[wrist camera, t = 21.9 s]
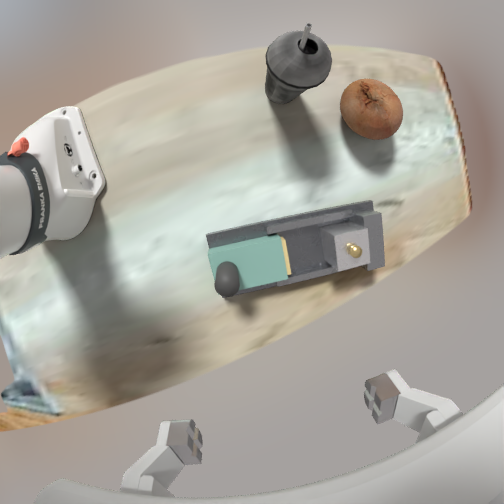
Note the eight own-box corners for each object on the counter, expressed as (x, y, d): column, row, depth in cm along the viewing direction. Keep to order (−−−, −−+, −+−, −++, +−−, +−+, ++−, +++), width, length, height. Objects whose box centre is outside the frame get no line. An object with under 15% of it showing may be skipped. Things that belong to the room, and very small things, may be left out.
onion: (330, 112, 39) (323, 84, 30) (374, 87, 36) (376, 55, 26) (364, 158, 38) (368, 139, 29) (409, 131, 35) (422, 107, 25)
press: (206, 233, 40) (202, 243, 34) (369, 200, 40) (388, 204, 34) (222, 295, 42) (221, 313, 37) (374, 258, 43) (392, 269, 37)
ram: (209, 248, 39) (204, 265, 32) (281, 232, 39) (293, 245, 32) (219, 286, 41) (217, 310, 33) (287, 270, 41) (300, 291, 33)
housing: (349, 221, 40) (371, 229, 33) (352, 251, 41) (374, 265, 34) (319, 227, 40) (337, 237, 33) (324, 258, 41) (341, 274, 34)
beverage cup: (309, 109, 36) (373, 60, 17) (262, 116, 36) (292, 61, 16) (297, 67, 34) (346, -2, 15) (250, 73, 34) (268, -4, 14)
